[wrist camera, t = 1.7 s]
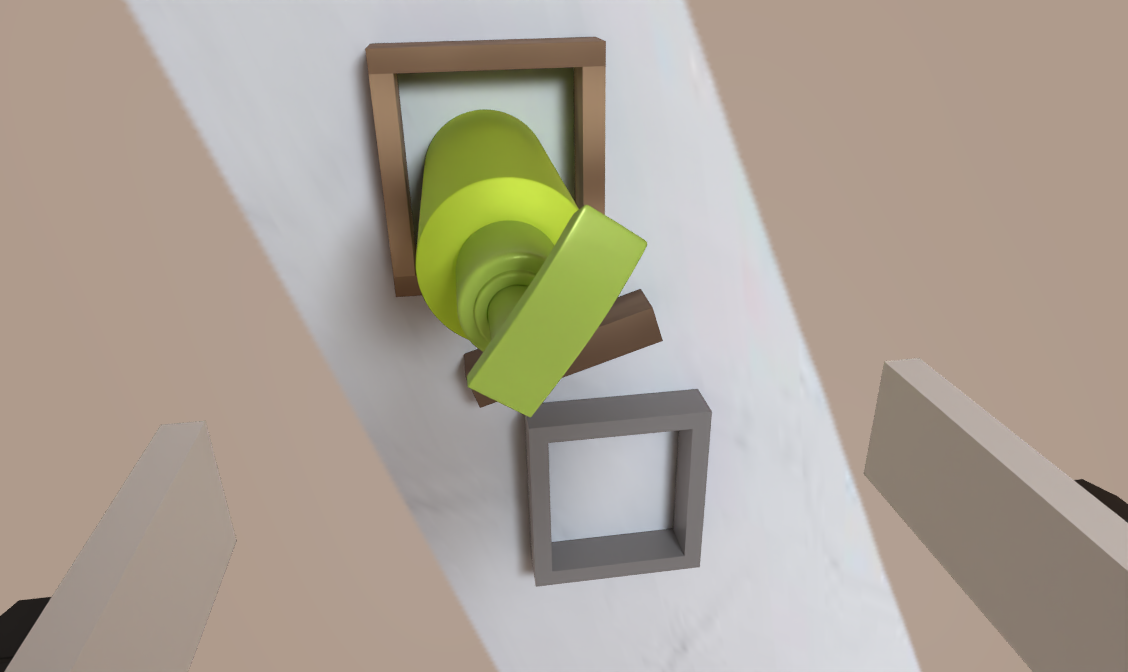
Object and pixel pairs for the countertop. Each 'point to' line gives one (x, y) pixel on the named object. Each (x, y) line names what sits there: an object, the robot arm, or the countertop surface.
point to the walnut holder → (473, 57)
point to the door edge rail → (604, 337)
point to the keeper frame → (610, 421)
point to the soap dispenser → (514, 256)
